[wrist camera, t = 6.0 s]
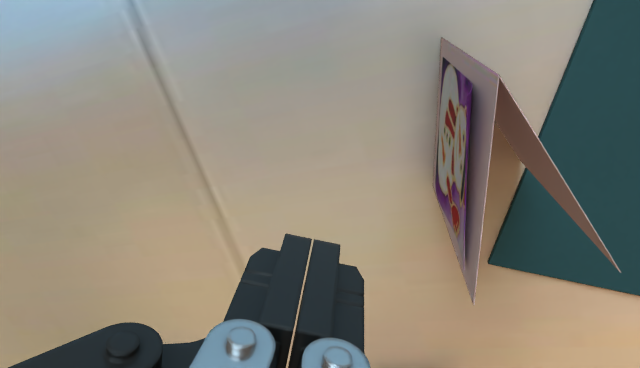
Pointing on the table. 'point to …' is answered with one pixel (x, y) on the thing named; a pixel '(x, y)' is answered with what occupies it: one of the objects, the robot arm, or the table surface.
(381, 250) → the table surface
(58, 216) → the table surface
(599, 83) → the placemat
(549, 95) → the table surface
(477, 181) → the greeting card
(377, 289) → the table surface
